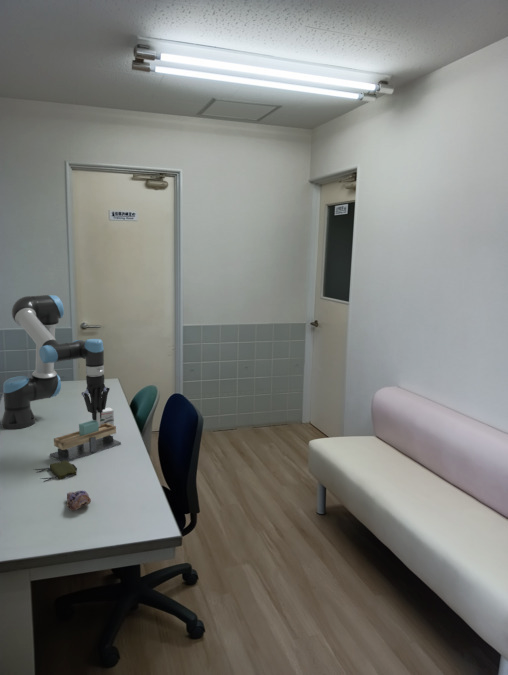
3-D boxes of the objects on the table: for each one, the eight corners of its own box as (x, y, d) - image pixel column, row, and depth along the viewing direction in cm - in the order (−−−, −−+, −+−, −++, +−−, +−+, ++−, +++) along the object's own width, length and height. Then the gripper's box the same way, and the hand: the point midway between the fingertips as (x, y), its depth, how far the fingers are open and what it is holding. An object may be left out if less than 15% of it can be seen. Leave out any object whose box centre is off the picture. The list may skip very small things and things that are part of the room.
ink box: (96, 436, 237) (95, 412, 235) (93, 433, 242) (92, 409, 240) (114, 433, 242) (113, 409, 240) (111, 430, 246) (110, 406, 244)
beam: (53, 445, 213) (53, 438, 213) (106, 429, 233) (106, 422, 232) (63, 450, 208) (62, 443, 208) (116, 433, 228) (116, 426, 228)
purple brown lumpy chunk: (61, 501, 177) (61, 484, 176) (84, 495, 181) (83, 479, 180) (70, 516, 167) (70, 498, 166) (94, 509, 171) (93, 493, 170)
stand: (49, 456, 214) (49, 440, 213) (106, 438, 236) (106, 423, 234) (63, 463, 207) (63, 447, 206) (120, 444, 229) (120, 429, 227)
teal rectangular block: (79, 435, 220) (78, 424, 219) (93, 430, 225) (93, 420, 224) (84, 437, 217) (84, 426, 216) (98, 432, 223) (98, 422, 222)
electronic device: (81, 469, 197) (40, 479, 188) (81, 476, 197) (41, 486, 188) (69, 457, 208) (31, 466, 199) (69, 463, 208) (31, 472, 199)
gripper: (86, 378, 213) (89, 432, 217) (113, 373, 223) (114, 424, 227) (77, 375, 217) (79, 428, 222) (103, 370, 227) (104, 420, 231)
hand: (97, 426), depth 224 cm, fingers closed
